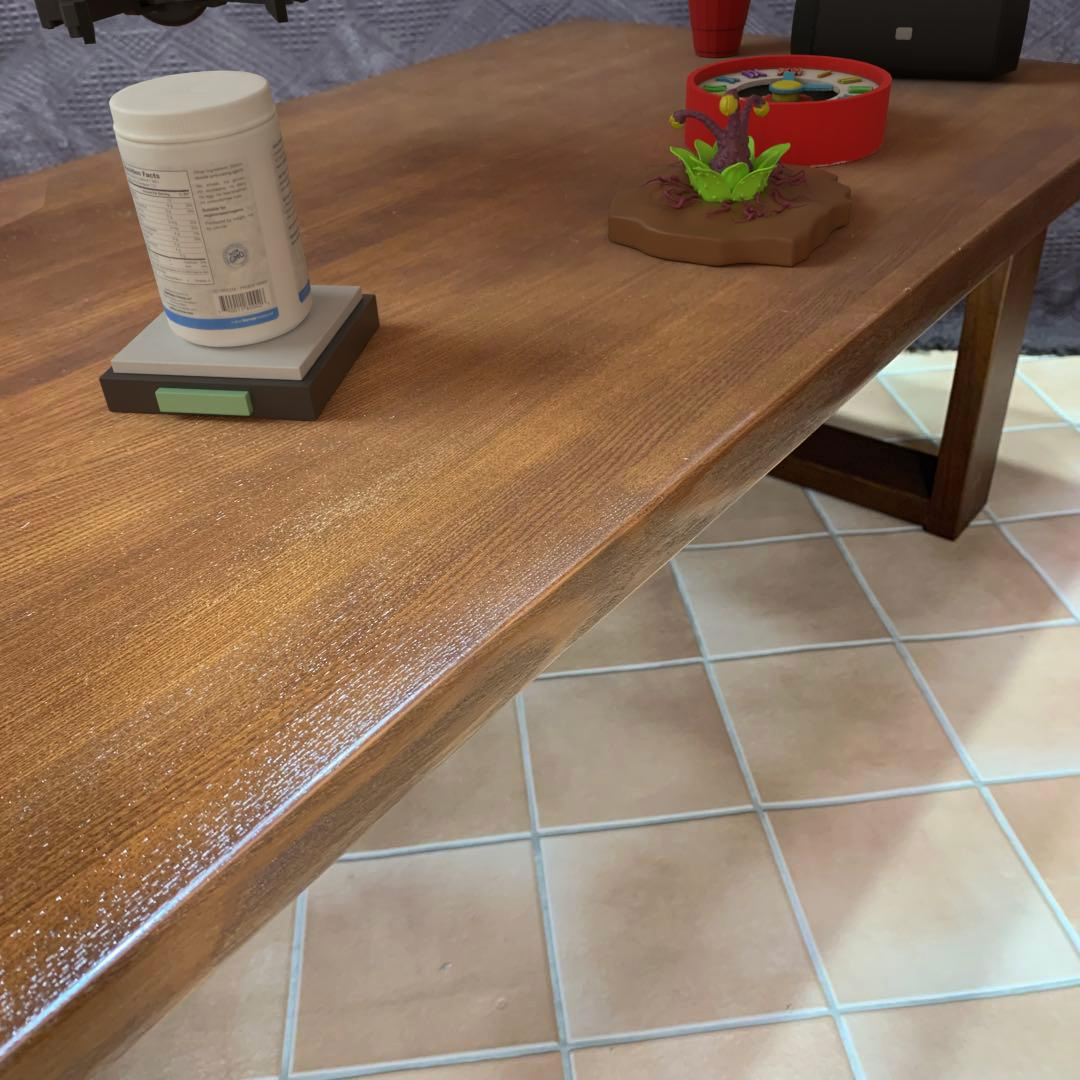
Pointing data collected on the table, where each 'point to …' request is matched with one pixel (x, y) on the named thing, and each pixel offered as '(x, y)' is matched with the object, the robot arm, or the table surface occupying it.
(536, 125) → the table surface
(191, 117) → the supplement tub
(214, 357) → the scale
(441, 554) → the table surface
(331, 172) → the table surface
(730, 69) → the toy clock
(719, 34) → the plastic cup
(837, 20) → the portable speaker
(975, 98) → the table surface
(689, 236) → the plant
